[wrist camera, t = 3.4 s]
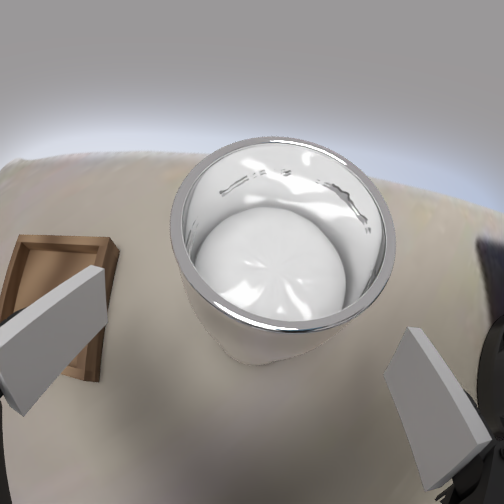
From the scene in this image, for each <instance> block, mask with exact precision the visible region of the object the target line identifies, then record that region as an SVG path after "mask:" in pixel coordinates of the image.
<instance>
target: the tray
mask: <svg viewBox="0 0 504 504" xmlns="http://www.w3.org/2000/svg"><path fill="white" fill-rule="evenodd" d="M119 252H120V251H119V249H118V248H117V247H116V245H115V244H114V243H113V241H112V240H111V239H110V237H85V236H53V235H19V236H18V239H17V242H16V245H15V248H14V250H13V253H12V257H11V260H10V263H9V266H8V269H7V273H6V276H5V280H4V284H3V288H2V292H1V296H0V323H1V322H2V321H3V320H5V319H7V317H9V316H10V315H11V314H13V313H14V312H16V311H18V310H20V309H23V308H26V307H28V306H30V305H31V304H33V303H34V302H35V301H37V300H38V299H40V298H41V297H43V296H44V295H46V294H47V293H48V292H50V291H51V290H53V289H54V288H56V287H57V286H59V285H60V284H62V283H63V282H65V281H66V280H68V279H69V278H71V277H73V276H74V275H76V274H77V273H79V272H80V271H82V270H83V269H85V268H87V267H88V266H90V265H93V266H97V267H100V268H104V269H105V291H106V305H107V311H108V305H109V299H110V294H111V289H112V284H113V279H114V274H115V270H116V265H117V261H118V256H119ZM104 330H105V326H104V327H103V328H102V329H101V330H100V331H99V332H98V333H97V334H96V335H95V336H94V338H93V339H92V340H91V341H90V342H89V343H88V344H87V345H86V346H85V347H84V348H83V349H82V350H81V351H80V353H79V354H78V355H77V356H76V357H75V358H74V359H73V360H72V361H71V362H70V363H69V365H68V366H67V367H66V368H65V369H64V370H63V371H62V372H61V374H62V375H66V376H69V377H73V378H76V379H80V380H83V381H92V382H99V375H100V364H101V354H102V346H103V338H104Z"/></svg>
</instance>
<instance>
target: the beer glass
mask: <svg viewBox="0 0 504 504" xmlns="http://www.w3.org/2000/svg"><path fill="white" fill-rule="evenodd" d="M170 239H171V244H172V249H173V252H174V256H175V258H176V261H177V263H178V267H179V271H180V275H181V279H182V282H183V286H184V289H185V292H186V295H187V298H188V300H189V302H190V305H191V307H192V309H193V311H194V313H195V315H196V317H197V318H198V320H199V321H200V323H201V324H202V326H203V327H204V328H205V330H206V331H207V332H208V333H209V334H210V336H211V337H212V338H213V339H214V340H216V341H217V342H218V343H219V344H220V346H221V348H222V349H223V350H224V352H225V353H226V354H227V355H228V356H230V357H231V358H232V359H234V360H235V361H237V362H240V363H242V364H246V365H252V366H260V365H265V364H269V363H271V362H274V361H279V360H285V359H289V358H293V357H296V356H299V355H302V354H305V353H307V352H309V351H311V350H313V349H315V348H317V347H319V346H320V345H322V344H323V343H325V342H326V341H328V340H330V339H331V338H332V337H334V336H335V335H336V334H337V333H339V332H340V331H341V330H342V329H343V328H344V327H346V326H347V325H348V324H349V323H350V322H351V321H352V320H353V319H354V318H356V317H357V316H359V315H360V314H361V313H363V312H364V311H365V310H366V309H367V308H368V307H370V306H371V305H372V304H373V302H374V301H375V300H376V299H377V298H378V296H379V295H380V294H381V292H382V291H383V289H384V287H385V286H386V284H387V282H388V280H389V277H390V275H391V272H392V269H393V265H394V261H395V254H396V235H395V229H394V224H393V220H392V217H391V214H390V211H389V209H388V206H387V204H386V202H385V200H384V198H383V197H382V195H381V193H380V192H379V190H378V189H377V187H376V186H375V185H374V184H373V182H372V181H371V180H370V179H369V178H368V177H367V176H366V175H365V174H364V173H363V172H362V171H361V170H360V169H359V168H358V167H357V166H355V165H354V164H353V163H352V162H350V161H349V160H347V159H346V158H344V157H343V156H341V155H339V154H338V153H336V152H334V151H332V150H330V149H328V148H326V147H323V146H321V145H318V144H315V143H312V142H309V141H304V140H300V139H295V138H289V137H258V138H251V139H246V140H242V141H239V142H235V143H232V144H230V145H227V146H225V147H223V148H221V149H219V150H217V151H215V152H213V153H212V154H210V155H209V156H207V157H206V158H204V159H203V160H202V161H201V162H199V163H198V164H197V165H196V166H195V167H194V168H193V169H192V170H191V172H190V173H189V174H188V175H187V176H186V178H185V179H184V181H183V182H182V184H181V186H180V187H179V189H178V191H177V194H176V196H175V199H174V202H173V205H172V209H171V215H170Z"/></svg>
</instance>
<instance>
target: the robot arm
mask: <svg viewBox="0 0 504 504" xmlns="http://www.w3.org/2000/svg"><path fill="white" fill-rule="evenodd" d="M107 323H108V317H107V305H106V291H105V269H104V268H100V267H97V266H93V265H90V266H88V267H87V268H85V269H83V270H82V271H80V272H79V273H77V274H76V275H74V276H73V277H71V278H69V279H68V280H66V281H65V282H63V283H62V284H60V285H59V286H57V287H56V288H54V289H53V290H51V291H50V292H48V293H47V294H46V295H44V296H43V297H41V298H40V299H38V300H37V301H35V302H34V303H33V304H31V305H30V306H28V307H26V308H23V309H20V310H18V311H16V312H14V313H13V314H11V315H10V316H9V317H7V319H5V320H3V321H2V322H1V323H0V398H1V397H2V396H3V395H4V397H5V399H6V401H7V402H8V404H9V406H10V407H11V408H13V409H14V410H15V411H17V412H18V413H19V414H21V415H22V416H23V417H24V416H25V415H26V413H27V412H28V411H29V410H30V409H31V407H32V406H33V405H34V404H35V403H36V401H37V400H38V399H39V398H40V397H41V395H42V394H43V393H44V392H45V391H46V390H47V388H48V387H49V386H50V385H51V384H52V383H53V381H54V380H55V379H56V378H57V377H58V376H59V375H60V374H61V372H62V371H63V370H64V369H65V368H66V367H67V366H68V365H69V363H70V362H71V361H72V360H73V359H74V358H75V357H76V356H77V355H78V354H79V353H80V351H81V350H82V349H83V348H84V347H85V346H86V345H87V344H88V343H89V342H90V341H91V340H92V339H93V338H94V336H95V335H96V334H97V333H98V332H99V331H100V330H101V329H102V328H103V327H104V326H105V325H106V324H107ZM383 375H384V378H385V380H386V383H387V385H388V388H389V390H390V392H391V395H392V398H393V400H394V403H395V405H396V408H397V410H398V413H399V416H400V418H401V421H402V424H403V426H404V429H405V432H406V435H407V438H408V441H409V443H410V446H411V449H412V452H413V455H414V458H415V461H416V464H417V467H418V471H419V474H420V477H421V480H422V484H423V487H424V491H425V492H426V491H429V490H433V489H436V488H440V487H442V486H443V485H444V484H445V483H447V482H448V481H449V480H450V479H451V478H452V480H453V484H452V485H451V486H450V487H448V488H447V489H446V490H444V491H443V492H442V493H441V494H439V495H438V496H437V497H436V499H435V500H436V501H437V500H438V499H440V498H441V497H443V496H444V495H445V498H443V499H442V500H441V501H440V502H441V503H442V504H504V440H501V441H499V442H498V441H497V440H496V438H495V437H504V315H503V316H502V317H500V318H499V319H498V320H497V321H496V322H495V323H494V325H493V326H492V328H491V329H490V331H489V333H488V336H487V338H486V341H485V344H484V347H483V351H482V355H481V360H480V367H479V376H478V401H479V408H477V405H476V403H475V402H474V400H473V399H472V397H471V396H470V395H469V394H468V393H467V392H466V391H465V390H464V389H462V387H461V385H460V384H459V382H458V381H457V379H456V378H455V376H454V375H453V373H452V372H451V370H450V369H449V367H448V366H447V364H446V363H445V361H444V360H443V358H442V357H441V356H440V354H439V353H438V351H437V350H436V348H435V347H434V346H433V344H432V343H431V341H430V340H429V339H428V337H427V336H426V335H425V333H424V332H423V330H422V329H421V328H416V327H407V328H406V331H405V333H404V335H403V337H402V339H401V341H400V343H399V345H398V347H397V350H396V352H395V354H394V355H393V357H392V359H391V361H390V363H389V365H388V367H387V369H386V371H385V373H384V374H383ZM479 409H480V410H479ZM0 504H12V501H11V496H10V491H9V486H8V480H7V474H6V467H5V458H4V448H3V432H2V404H1V401H0Z"/></svg>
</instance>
